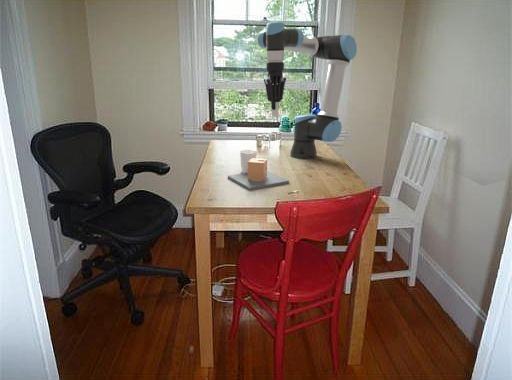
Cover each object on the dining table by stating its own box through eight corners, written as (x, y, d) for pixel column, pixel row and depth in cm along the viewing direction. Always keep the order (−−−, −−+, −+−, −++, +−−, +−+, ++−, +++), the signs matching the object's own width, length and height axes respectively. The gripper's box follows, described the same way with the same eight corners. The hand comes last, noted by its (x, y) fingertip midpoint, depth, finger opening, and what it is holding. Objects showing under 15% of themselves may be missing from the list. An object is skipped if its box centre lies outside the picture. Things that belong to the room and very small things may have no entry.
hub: (264, 172, 175) (264, 161, 173) (289, 183, 158) (289, 171, 157) (227, 178, 165) (227, 167, 163) (249, 190, 149) (249, 178, 147)
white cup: (242, 174, 171) (242, 153, 167) (238, 170, 178) (238, 150, 175) (258, 173, 173) (258, 152, 169) (254, 169, 180) (254, 149, 177)
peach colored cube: (251, 175, 165) (252, 157, 162) (266, 176, 163) (267, 158, 161) (247, 179, 159) (247, 160, 156) (263, 180, 157) (263, 162, 154)
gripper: (278, 61, 163) (278, 114, 171) (258, 62, 154) (259, 117, 162) (291, 61, 158) (290, 115, 166) (272, 61, 149) (272, 119, 157)
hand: (275, 116), depth 164 cm, fingers closed
